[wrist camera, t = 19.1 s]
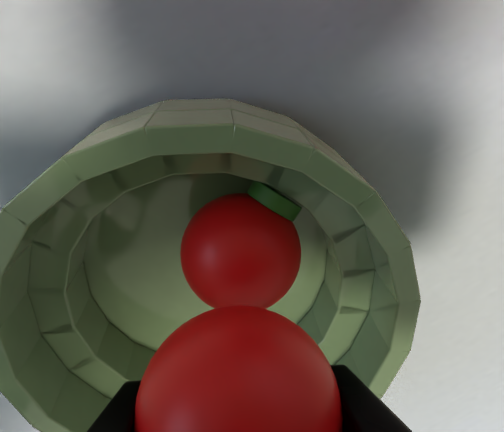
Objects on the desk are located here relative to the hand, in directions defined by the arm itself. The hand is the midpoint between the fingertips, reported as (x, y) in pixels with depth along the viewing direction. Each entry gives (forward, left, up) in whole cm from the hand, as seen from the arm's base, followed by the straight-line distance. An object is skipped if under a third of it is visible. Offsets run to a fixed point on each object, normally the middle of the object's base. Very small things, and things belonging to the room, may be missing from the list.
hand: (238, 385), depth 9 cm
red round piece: (-1, -2, -5) cm, 6 cm away
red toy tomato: (0, 0, -2) cm, 2 cm away
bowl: (-1, -2, -9) cm, 9 cm away
